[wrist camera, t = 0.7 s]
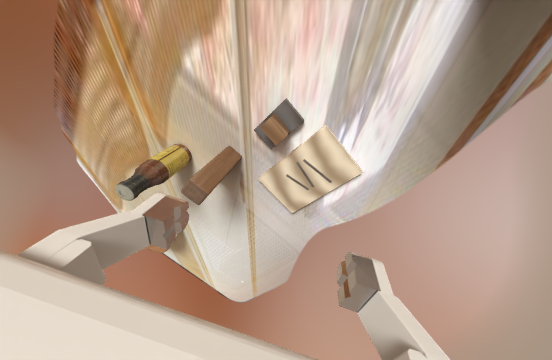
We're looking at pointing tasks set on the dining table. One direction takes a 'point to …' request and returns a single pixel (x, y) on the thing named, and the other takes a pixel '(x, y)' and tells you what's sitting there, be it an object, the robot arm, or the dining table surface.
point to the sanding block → (279, 124)
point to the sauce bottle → (154, 171)
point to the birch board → (310, 171)
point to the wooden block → (210, 175)
